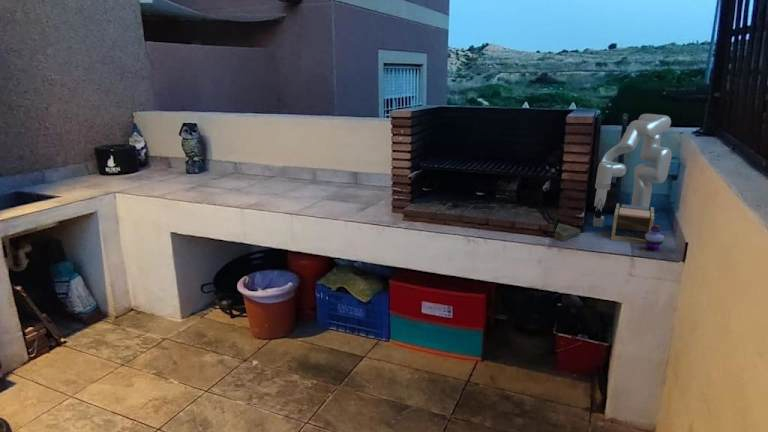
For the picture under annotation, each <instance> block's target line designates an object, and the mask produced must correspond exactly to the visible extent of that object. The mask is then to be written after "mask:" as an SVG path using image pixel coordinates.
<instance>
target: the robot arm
mask: <svg viewBox="0 0 768 432" xmlns="http://www.w3.org/2000/svg"><path fill="white" fill-rule="evenodd" d="M671 124H672V120H671V118H670V116H668V115H665V114H655V113H643V114H640V116H639V117H638V119H635V120H633V121H631V122H630V123H629V125H628V127H627V128H626V130H625V132H624V133H623V136H622V137H621V139H620V141H619V142H618V144H616V145H615V146H612V147H611V148H610V149H609V150H608V151H607V152H605V154H604V155H603V157H602V159H601V161H600V162H599V164H598V165H597V166H598V167H597V172H596V177H595V178H596V180H595V186H594V188H595V189H596V192H595V198H594V205H593V206H594V207H596V208H595V212H594V216H595V218H601V216H602V215H603V211H604V207H605V206H604V205H605V203H606V200H607V194H608V191H610V189H611V185H612V184H611V182H612V178H613V177H614V178H615V177H616V178H619V177H623V176H625V174H626V173H627V166H626V165H625V164H623V163H622V162H617V161H614V159H615V158H617V157H618V156H620V155H623V154H627V153H630V152H633V151H635V150H636V147H637V146H638V143H639V142H640V140H641V138H642V137H643V142H642V148H641V152H640V158H641V160H643V161H644V162H649V163H639V164H637V165H636V166H635V167H634V171H633V172H634V173H633V177H634V180H633V181H634V183H633V190H632V197H631V203H630V205H634V206H643V207H649V208H650V204H651V199H652V198H651V197H652V192H653V186H652V183H655V184H662V183H664V182H665V181H666V180H667V177H668V174H669V170H670V166H671V162H672V150H671V149H670V148H669V147H667V146H662V145H661V140H662V133H664V132H666V131H667V130H668V129H669V128H670V127H671ZM650 163H653V164H650Z"/></svg>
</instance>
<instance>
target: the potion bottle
mask: <svg viewBox="0 0 768 432" xmlns="http://www.w3.org/2000/svg"><path fill="white" fill-rule="evenodd" d="M661 229H662V228H661V227H660V225H658V224H653V227H651V231H652V233H647V232H646V233H645V234H644V240H645V241H646V244H645V246H646V250H649V251H653V252H654V250H658V251H659V248H660V246H663V243H664V238H665V236H664V235H663V234H661V231H662V230H661Z"/></svg>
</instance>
